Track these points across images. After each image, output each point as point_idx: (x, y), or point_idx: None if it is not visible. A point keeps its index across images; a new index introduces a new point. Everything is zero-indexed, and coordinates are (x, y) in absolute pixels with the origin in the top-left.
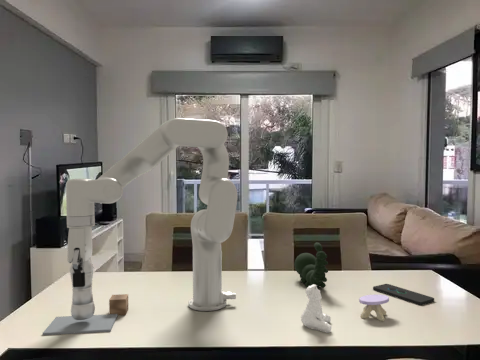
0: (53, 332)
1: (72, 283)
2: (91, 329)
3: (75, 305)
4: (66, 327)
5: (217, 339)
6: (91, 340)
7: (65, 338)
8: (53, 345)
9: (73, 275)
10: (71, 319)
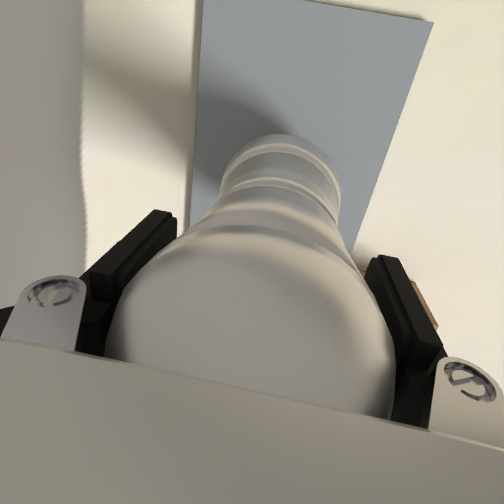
0: (201, 46)
1: (224, 204)
2: (199, 209)
3: (230, 173)
4: (247, 105)
5: None
6: (126, 206)
7: (154, 110)
8: (92, 67)
9: (105, 263)
10: (347, 119)
